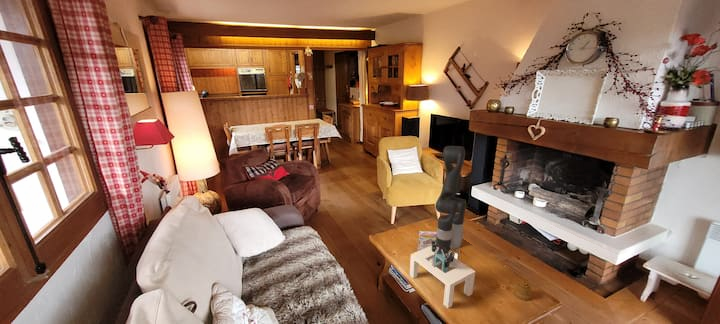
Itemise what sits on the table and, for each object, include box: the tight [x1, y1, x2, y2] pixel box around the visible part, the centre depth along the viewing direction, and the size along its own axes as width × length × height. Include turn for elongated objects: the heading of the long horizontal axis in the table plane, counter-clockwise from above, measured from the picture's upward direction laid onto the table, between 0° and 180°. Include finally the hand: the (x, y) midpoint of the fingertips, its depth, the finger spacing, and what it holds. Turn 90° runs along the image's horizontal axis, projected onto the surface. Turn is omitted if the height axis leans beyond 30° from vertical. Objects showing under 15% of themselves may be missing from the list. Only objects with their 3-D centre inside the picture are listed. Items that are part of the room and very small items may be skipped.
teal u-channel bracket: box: [434, 252, 449, 273], centre depth 151 cm, size 4×6×9 cm, turn 31°
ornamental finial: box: [513, 280, 532, 301], centre depth 146 cm, size 8×8×8 cm
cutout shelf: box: [409, 246, 476, 309], centre depth 153 cm, size 18×28×15 cm, turn 31°
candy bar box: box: [417, 230, 437, 251], centre depth 176 cm, size 11×5×16 cm, turn 84°
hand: (441, 263), depth 151 cm, fingers closed on teal u-channel bracket, 6 cm apart
